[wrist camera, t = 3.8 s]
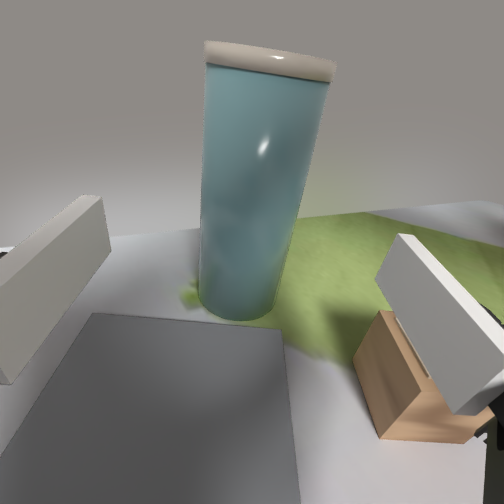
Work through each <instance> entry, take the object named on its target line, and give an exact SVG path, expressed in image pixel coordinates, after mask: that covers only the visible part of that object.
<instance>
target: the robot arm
mask: <svg viewBox="0 0 504 504" xmlns="http://www.w3.org/2000/svg"><path fill="white" fill-rule="evenodd" d="M110 252H111V246H110V240H109V235H108V229H107V224H106V218H105V214H104V207H103V202H102V197H97V196H89V195H82V196H80V197H79V198H78V199H77V200H75V201H74V202H73V203H71V204H70V205H69V206H68V207H66V208H65V209H64V210H62V211H61V212H60V213H59V214H57V215H56V216H55V217H53V218H52V219H51V220H50V221H48V222H47V223H46V224H44V225H43V226H42V227H41V228H39V229H38V230H37V231H35V232H34V233H33V234H32V235H30V236H29V237H28V238H26V239H25V240H24V241H23V242H21V243H20V244H19V245H17V246H16V247H15V248H13V249H12V250H11V251H10V252H1V253H0V384H3V385H12V383H13V382H14V381H15V379H16V378H17V377H18V375H19V374H20V373H21V371H22V370H23V369H24V367H25V366H26V365H27V363H28V362H29V361H30V359H31V358H32V357H33V355H34V354H35V353H36V351H37V350H38V349H39V347H40V346H41V345H42V343H43V342H44V341H45V339H46V338H47V337H48V335H49V334H50V333H51V331H52V330H53V329H54V327H55V326H56V324H57V323H58V322H59V320H60V319H61V318H62V316H63V315H64V314H65V312H66V311H67V310H68V308H69V307H70V306H71V304H72V303H73V302H74V300H75V299H76V298H77V296H78V295H79V294H80V292H81V291H82V290H83V288H84V287H85V286H86V284H87V283H88V282H89V280H90V279H91V278H92V276H93V275H94V274H95V272H96V271H97V270H98V268H99V267H100V266H101V264H102V263H103V261H104V260H105V259H106V257H107V256H108V255H109V253H110ZM375 281H376V282H377V284H378V286H379V288H380V289H381V291H382V293H383V295H384V296H385V298H386V300H387V301H388V303H389V305H390V307H391V308H392V310H393V312H394V314H395V315H396V317H397V319H398V320H399V322H400V324H401V326H402V327H403V329H404V331H405V333H406V334H407V336H408V338H409V339H410V341H411V343H412V345H413V346H414V348H415V350H416V351H417V353H418V355H419V357H420V358H421V360H422V362H423V364H424V365H425V367H426V369H427V370H428V372H429V374H430V376H431V377H432V379H433V381H434V383H435V384H436V386H437V388H438V389H439V391H440V393H441V395H442V396H443V398H444V400H445V402H446V403H447V405H448V407H449V408H450V410H451V412H452V414H453V415H466V416H476V415H477V414H479V413H480V412H481V411H482V410H484V409H485V408H486V407H487V406H488V407H489V408H490V409H491V411H492V412H493V414H494V415H495V416H494V417H492V418H491V419H490V420H488V421H487V422H486V423H485V424H483V425H482V426H481V427H479V428H478V429H477V430H476V431H475V433H474V436H476V437H477V438H478V437H479V436H481V435H482V434H483V433H487V439H485V440H484V441H483V442H484V443H486V444H487V449H486V464H485V480H484V495H483V504H504V325H502V324H501V321H500V320H499V319H498V318H497V317H496V316H495V315H494V314H493V313H492V312H491V311H490V310H489V309H487V308H486V307H484V306H483V305H482V304H480V303H479V302H477V301H476V300H475V299H474V298H473V297H472V296H471V295H470V294H469V293H468V292H467V291H466V290H465V289H464V287H463V286H462V285H461V284H460V283H459V282H458V281H457V280H456V279H455V278H454V277H453V276H452V275H451V274H450V273H449V272H448V271H447V270H446V269H445V268H444V267H443V266H442V264H441V263H440V262H439V261H438V260H437V259H436V258H435V257H434V256H433V255H432V254H431V253H430V252H429V251H428V250H427V249H426V248H425V247H424V246H423V245H422V244H421V243H420V241H419V240H418V239H417V238H416V237H415V236H414V235H408V234H400V233H397V235H396V237H395V239H394V241H393V243H392V245H391V247H390V249H389V251H388V253H387V255H386V257H385V259H384V261H383V263H382V265H381V267H380V269H379V271H378V273H377V275H376V277H375Z"/></svg>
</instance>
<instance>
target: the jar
mask: <svg viewBox="0 0 504 504" xmlns="http://www.w3.org/2000/svg"><path fill="white" fill-rule="evenodd" d="M204 62H205V93H204V96H205V97H204V125H203V156H202V186H201V216H200V247H199V278H198V295H199V298H200V301H201V302H202V304H203V305H204V306H205V307H206V309H208V310H209V311H210V312H212V313H213V314H215V315H217V316H219V317H221V318H224V319H228V320H233V321H249V320H254V319H257V318H260V317H262V316H264V315H265V314H267V313H268V312H269V311H270V310H271V309H272V308H273V306H274V304H275V302H276V298H277V294H278V290H279V286H280V282H281V278H282V274H283V270H284V266H285V262H286V258H287V254H288V250H289V246H290V242H291V238H292V234H293V230H294V226H295V222H296V218H297V214H298V210H299V206H300V202H301V198H302V195H303V190H304V187H305V183H306V178H307V175H308V171H309V166H310V163H311V159H312V155H313V151H314V147H315V142H316V139H317V135H318V130H319V127H320V123H321V119H322V115H323V111H324V107H325V103H326V99H327V95H328V91H329V87H330V83H331V82H333V78H334V74H335V70H336V66H337V62H334V61H330V60H326V59H322V58H317V57H312V56H307V55H302V54H296V53H291V52H286V51H280V50H274V49H267V48H261V47H254V46H248V45H241V44H234V43H226V42H217V41H205V42H204Z"/></svg>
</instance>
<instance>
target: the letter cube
mask: <svg viewBox="0 0 504 504" xmlns="http://www.w3.org/2000/svg"><path fill="white" fill-rule="evenodd" d="M352 361H353V364H354V367H355V370H356V373H357V375H358V378H359V381H360V384H361V387H362V390H363V393H364V396H365V399H366V402H367V405H368V408H369V411H370V413H371V416H372V419H373V422H374V425H375V428H376V431H377V434H378V437H379V439H386V440H403V441H421V442H438V443H455V444H464V443H465V442H467V441H468V440H469V439H470V438H472V437H473V436H474V433H475V431H476V430H477V429H478V428H479V427H481V426H482V425H483V424H485V423H486V422H487V421H488V420H490V419H491V418H492V417H494V416H495V415H494V414H493V412H492V411H491V409H490V408H489V407H488V406H487V407H486V408H485V409H484V410H482V411H481V412H480V413H479V414H477V415H476V416H466V415H453V414H452V412H451V410H450V408H449V407H448V405H447V403H446V402H445V400H444V398H443V396H442V395H441V393H440V391H439V389H438V388H437V386H436V384H435V383H434V381H433V379H432V377H431V376H430V374H429V372H428V370H427V369H426V367H425V365H424V364H423V362H422V360H421V358H420V357H419V355H418V353H417V351H416V350H415V348H414V346H413V345H412V343H411V341H410V339H409V338H408V336H407V334H406V333H405V331H404V329H403V327H402V326H401V324H400V322H399V320H398V319H397V317H396V315H395V314H394V312H393V311H384V310H379V311H378V313H377V315H376V317H375V319H374V320H373V322H372V324H371V326H370V328H369V329H368V331H367V333H366V335H365V337H364V338H363V340H362V342H361V344H360V346H359V347H358V349H357V351H356V353H355V355H354V356H353V358H352Z"/></svg>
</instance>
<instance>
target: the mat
mask: <svg viewBox="0 0 504 504" xmlns="http://www.w3.org/2000/svg"><path fill="white" fill-rule="evenodd" d="M0 504H301V500H300V492H299V483H298V474H297V465H296V456H295V447H294V438H293V429H292V420H291V411H290V402H289V393H288V384H287V376H286V367H285V358H284V349H283V340H282V331H281V330H279V329H267V328H256V327H245V326H234V325H223V324H212V323H201V322H190V321H178V320H167V319H156V318H145V317H134V316H123V315H112V314H101V313H92V315H91V316H90V318H89V319H88V321H87V322H86V324H85V326H84V327H83V329H82V330H81V332H80V333H79V335H78V336H77V338H76V340H75V341H74V343H73V344H72V346H71V347H70V349H69V351H68V352H67V354H66V355H65V357H64V358H63V360H62V361H61V363H60V365H59V366H58V368H57V369H56V371H55V372H54V374H53V376H52V377H51V379H50V380H49V382H48V383H47V385H46V386H45V388H44V390H43V391H42V393H41V394H40V396H39V397H38V399H37V401H36V402H35V404H34V405H33V407H32V408H31V410H30V411H29V413H28V415H27V416H26V418H25V419H24V421H23V422H22V424H21V426H20V427H19V429H18V430H17V432H16V433H15V435H14V436H13V438H12V440H11V441H10V443H9V444H8V446H7V447H6V449H5V451H4V452H3V454H2V455H1V457H0Z"/></svg>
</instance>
